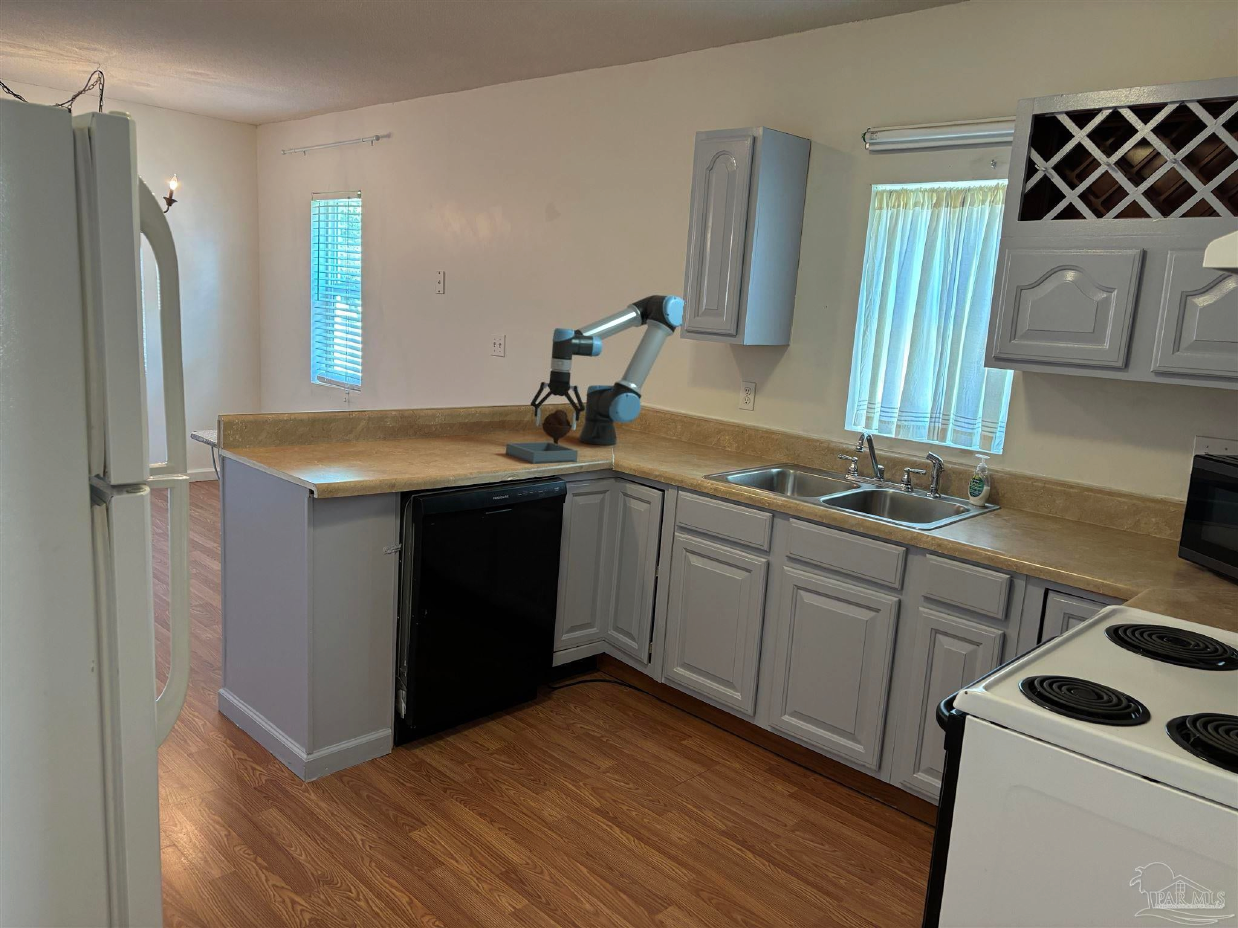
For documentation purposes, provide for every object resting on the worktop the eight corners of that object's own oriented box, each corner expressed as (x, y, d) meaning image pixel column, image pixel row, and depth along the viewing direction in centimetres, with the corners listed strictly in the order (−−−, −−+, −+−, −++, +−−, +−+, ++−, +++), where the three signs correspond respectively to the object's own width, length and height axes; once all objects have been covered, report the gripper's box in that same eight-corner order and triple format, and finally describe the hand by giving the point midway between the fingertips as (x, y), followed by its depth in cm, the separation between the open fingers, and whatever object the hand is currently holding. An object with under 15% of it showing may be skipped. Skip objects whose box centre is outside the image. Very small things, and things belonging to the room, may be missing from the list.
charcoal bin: (548, 452, 320) (549, 441, 320) (576, 461, 306) (577, 450, 306) (505, 454, 309) (506, 443, 308) (533, 464, 295) (533, 452, 295)
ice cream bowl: (571, 448, 334) (574, 409, 332) (566, 452, 323) (569, 412, 321) (544, 445, 335) (546, 406, 333) (538, 450, 324) (541, 409, 322)
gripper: (525, 367, 322) (520, 425, 325) (592, 374, 319) (587, 432, 323) (529, 366, 329) (525, 422, 333) (595, 373, 326) (590, 430, 330)
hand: (555, 427), depth 328 cm, fingers open, 13 cm apart
